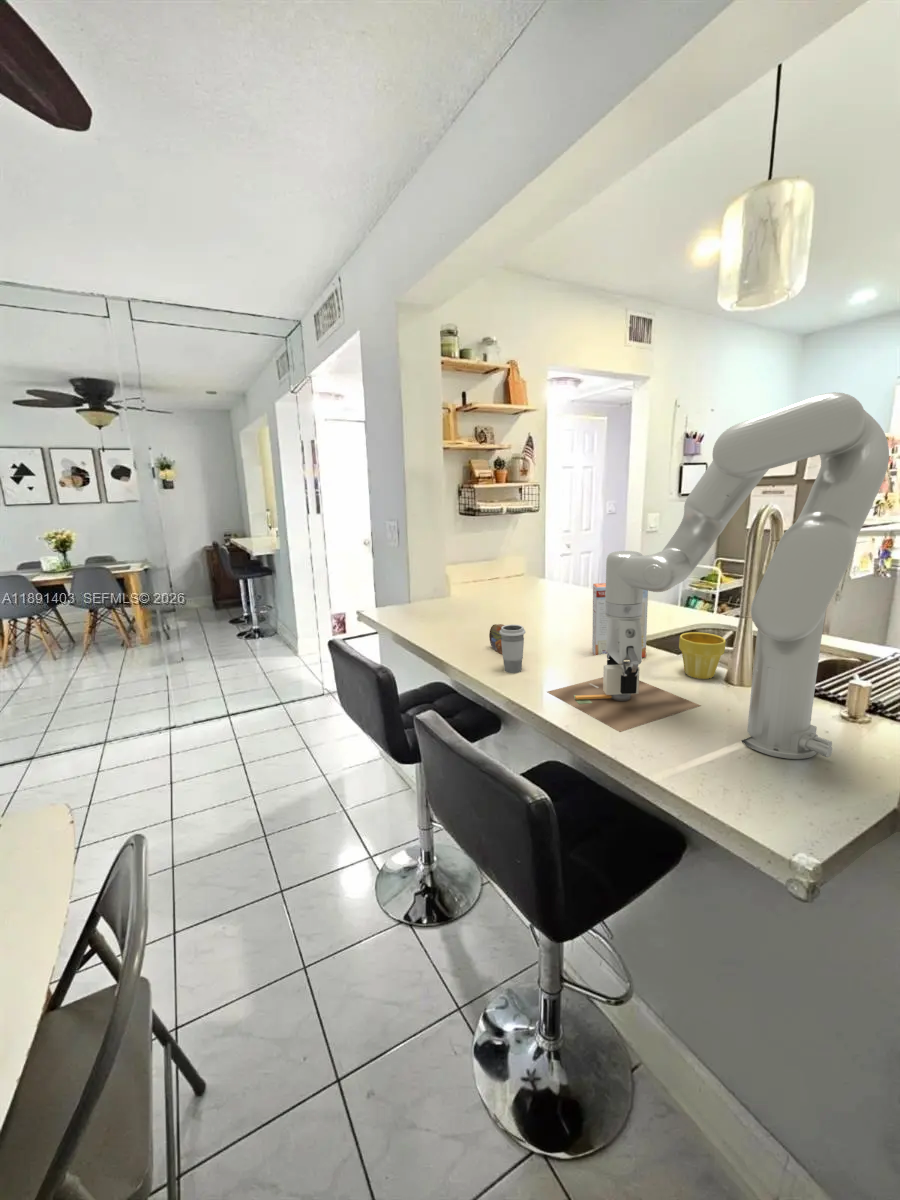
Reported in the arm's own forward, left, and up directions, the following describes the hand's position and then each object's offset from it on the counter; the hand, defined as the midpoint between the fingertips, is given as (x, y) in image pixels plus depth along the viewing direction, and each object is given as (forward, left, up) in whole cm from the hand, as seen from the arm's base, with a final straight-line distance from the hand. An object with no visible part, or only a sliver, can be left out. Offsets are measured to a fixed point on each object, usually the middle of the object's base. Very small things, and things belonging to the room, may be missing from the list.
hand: (620, 684), depth 111 cm
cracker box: (+25, -24, -5) cm, 35 cm away
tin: (+44, +2, -5) cm, 44 cm away
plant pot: (+3, -30, -5) cm, 31 cm away
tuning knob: (+1, +3, -3) cm, 4 cm away
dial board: (0, 0, -5) cm, 5 cm away
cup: (+31, +8, -5) cm, 32 cm away
